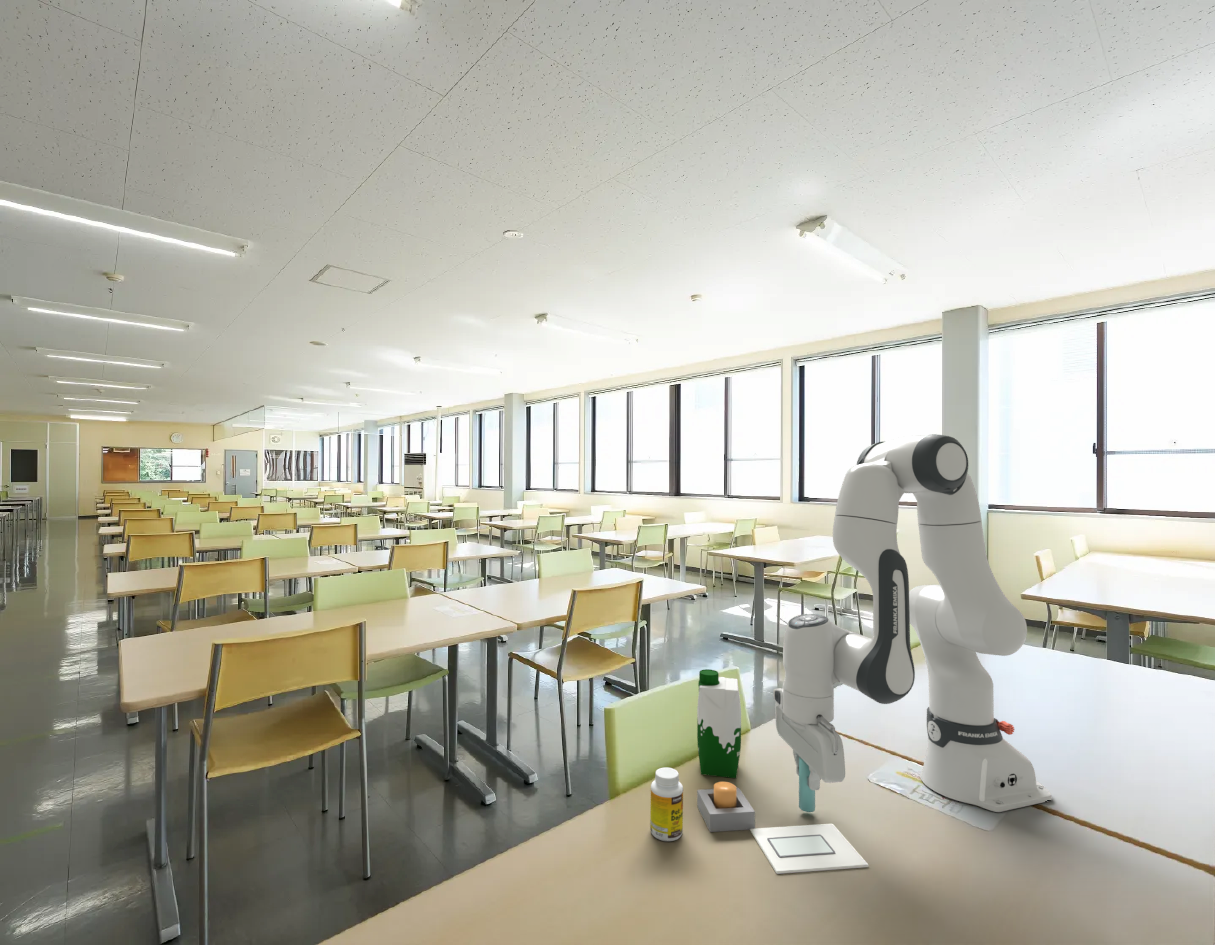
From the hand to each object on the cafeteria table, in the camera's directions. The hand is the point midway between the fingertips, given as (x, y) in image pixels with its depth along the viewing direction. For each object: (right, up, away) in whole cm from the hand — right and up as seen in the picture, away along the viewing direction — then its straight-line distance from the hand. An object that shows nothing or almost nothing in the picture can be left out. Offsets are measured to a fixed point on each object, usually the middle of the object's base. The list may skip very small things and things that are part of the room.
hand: (807, 782), depth 105 cm
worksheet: (-4, -5, -10) cm, 12 cm away
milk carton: (-13, -6, +16) cm, 22 cm away
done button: (-15, -4, -1) cm, 16 cm away
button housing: (-15, -6, -1) cm, 16 cm away
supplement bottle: (-26, -6, -6) cm, 28 cm away
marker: (0, -5, 0) cm, 5 cm away
